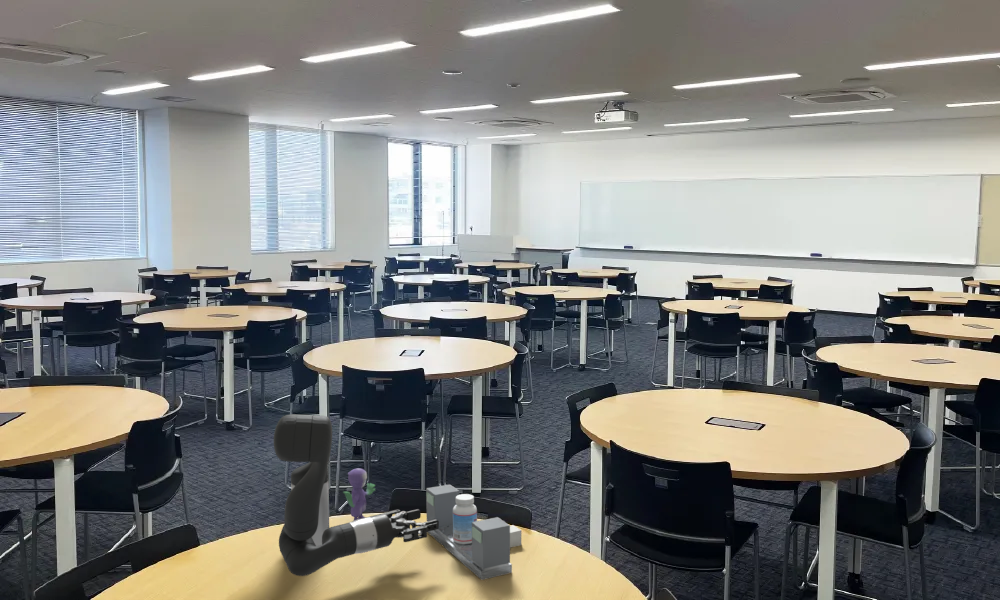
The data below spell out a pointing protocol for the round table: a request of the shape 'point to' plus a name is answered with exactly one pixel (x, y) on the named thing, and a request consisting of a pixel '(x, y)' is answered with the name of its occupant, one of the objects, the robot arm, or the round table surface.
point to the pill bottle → (464, 518)
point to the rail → (467, 554)
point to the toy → (358, 492)
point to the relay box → (515, 536)
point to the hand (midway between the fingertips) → (428, 518)
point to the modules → (486, 534)
